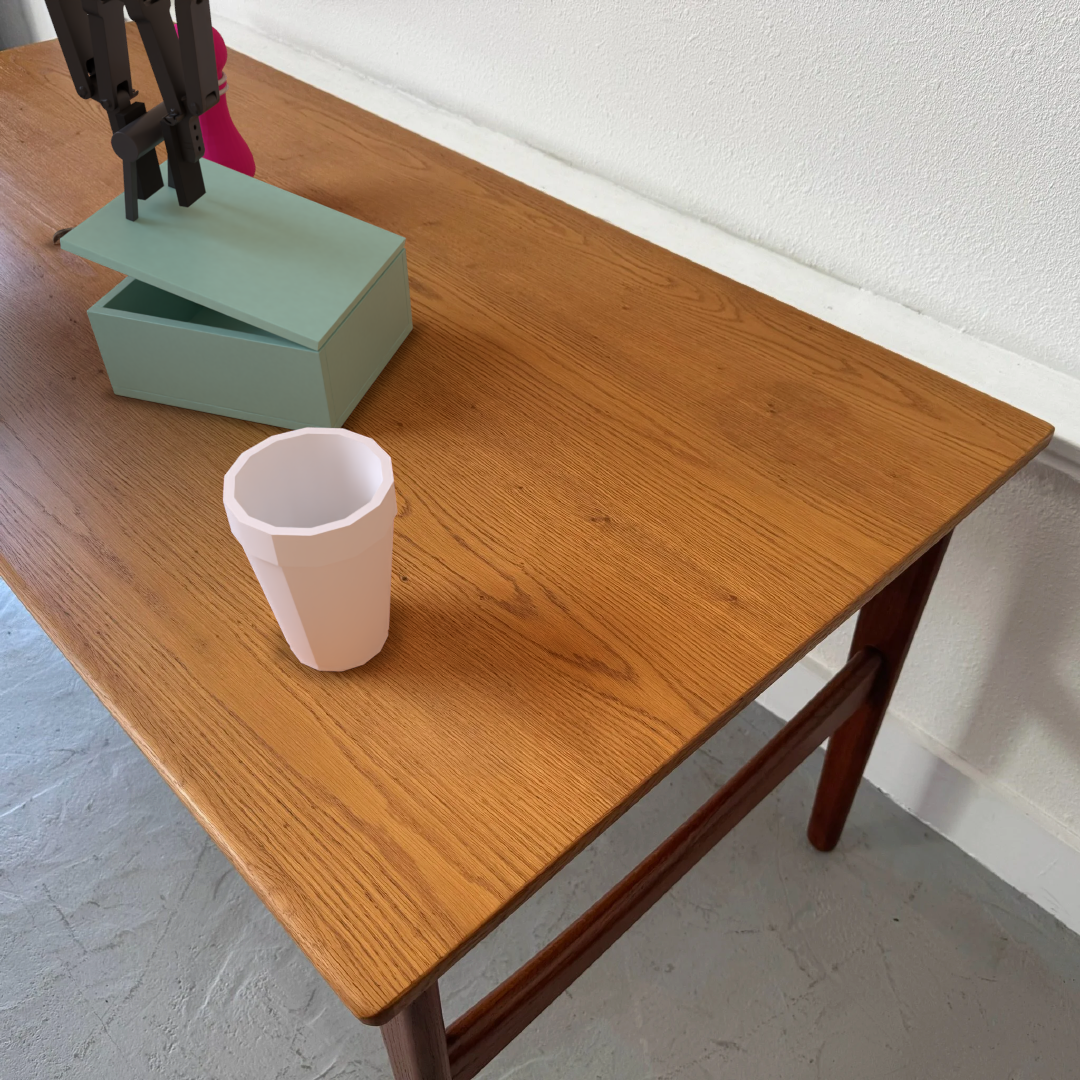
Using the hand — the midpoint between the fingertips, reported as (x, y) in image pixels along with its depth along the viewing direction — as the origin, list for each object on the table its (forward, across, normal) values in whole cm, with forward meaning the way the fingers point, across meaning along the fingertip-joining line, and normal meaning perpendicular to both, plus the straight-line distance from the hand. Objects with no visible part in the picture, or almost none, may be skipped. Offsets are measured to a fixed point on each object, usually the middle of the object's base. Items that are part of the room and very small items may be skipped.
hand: (171, 195), depth 80 cm
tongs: (+15, +20, -17) cm, 30 cm away
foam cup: (+14, -25, +27) cm, 39 cm away
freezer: (+14, -6, 0) cm, 15 cm away
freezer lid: (+4, -6, 0) cm, 7 cm away
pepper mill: (+14, +12, -25) cm, 31 cm away
